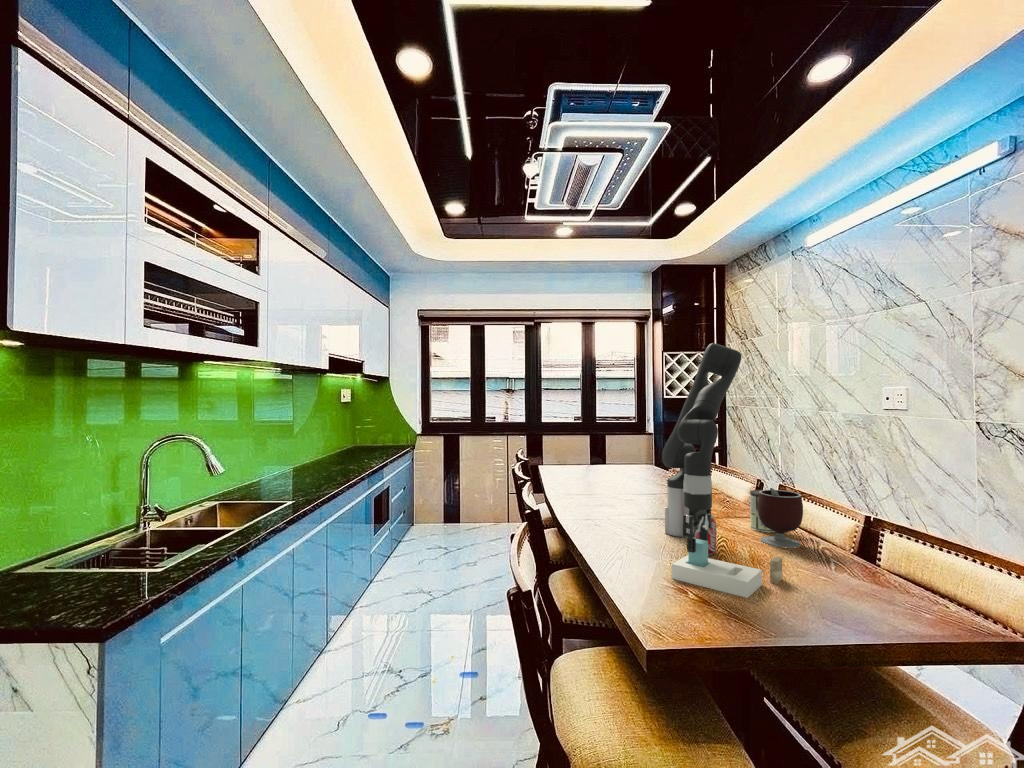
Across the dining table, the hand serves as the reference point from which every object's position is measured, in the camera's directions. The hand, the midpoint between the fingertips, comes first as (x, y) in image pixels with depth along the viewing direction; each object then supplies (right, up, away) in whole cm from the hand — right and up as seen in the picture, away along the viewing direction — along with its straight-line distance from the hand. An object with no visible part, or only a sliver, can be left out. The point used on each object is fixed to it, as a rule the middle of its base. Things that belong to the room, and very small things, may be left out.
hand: (697, 548), depth 143 cm
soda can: (+10, -9, +22) cm, 25 cm away
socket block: (+4, -8, -4) cm, 9 cm away
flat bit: (+21, -8, -3) cm, 22 cm away
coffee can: (+44, -9, +50) cm, 68 cm away
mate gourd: (+40, -9, +33) cm, 52 cm away
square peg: (0, -8, 0) cm, 8 cm away
